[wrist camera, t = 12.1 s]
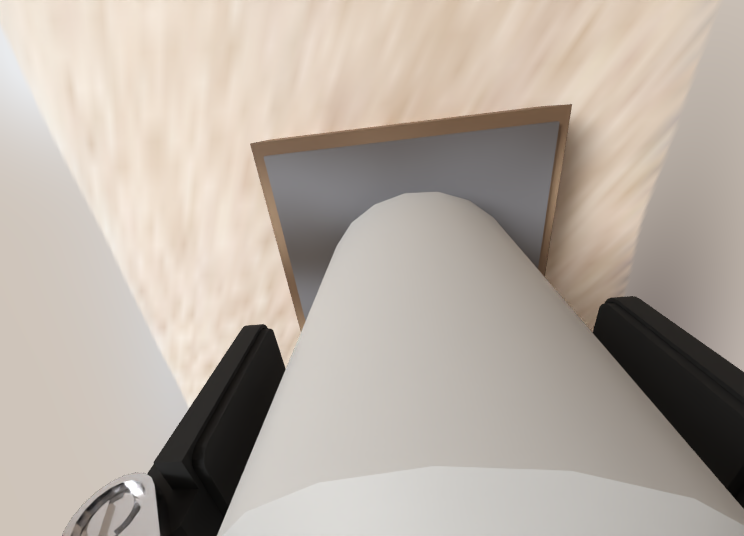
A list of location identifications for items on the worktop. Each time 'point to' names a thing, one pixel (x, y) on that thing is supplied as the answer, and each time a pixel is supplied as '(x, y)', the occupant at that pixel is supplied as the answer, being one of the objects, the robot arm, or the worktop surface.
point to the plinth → (411, 181)
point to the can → (461, 403)
